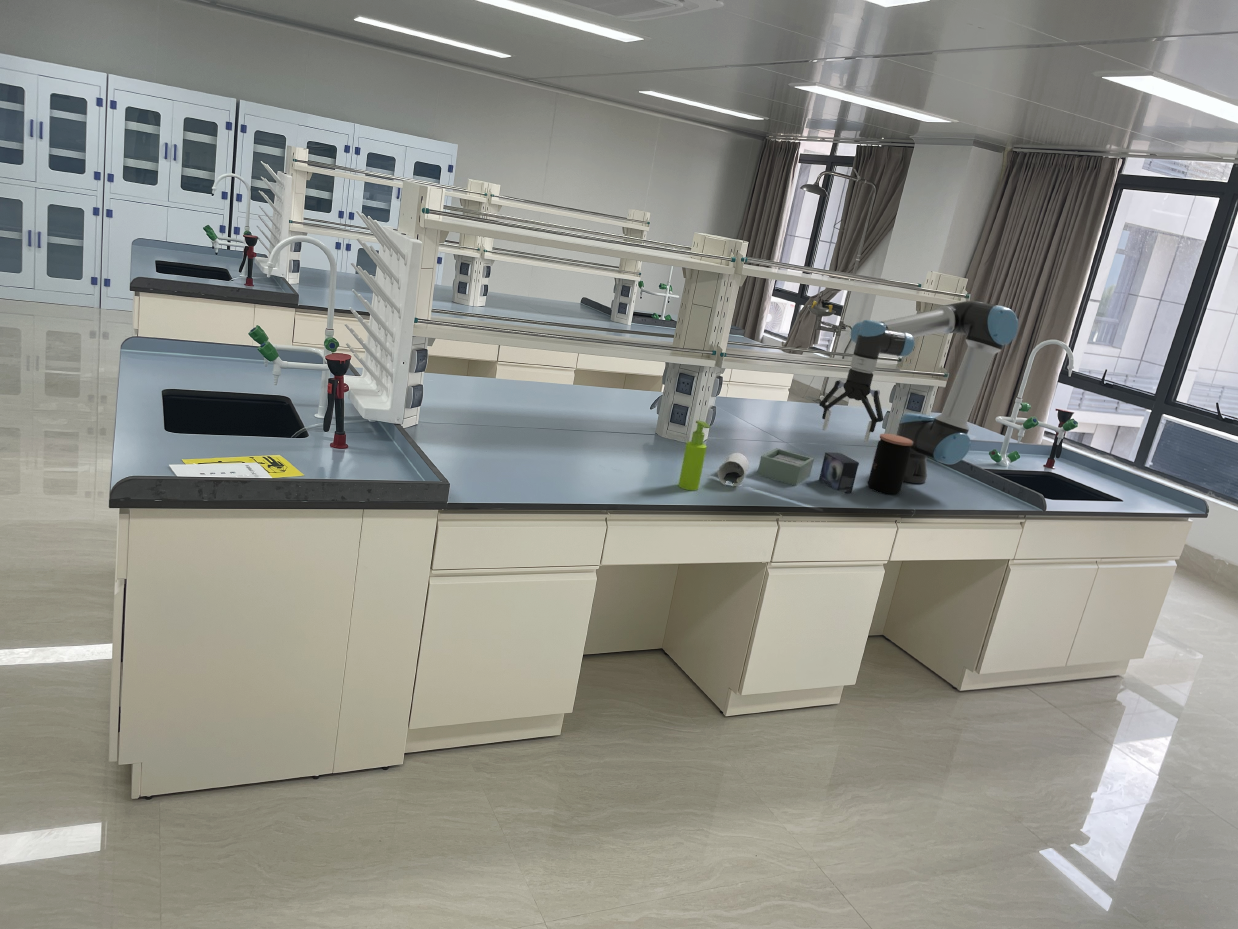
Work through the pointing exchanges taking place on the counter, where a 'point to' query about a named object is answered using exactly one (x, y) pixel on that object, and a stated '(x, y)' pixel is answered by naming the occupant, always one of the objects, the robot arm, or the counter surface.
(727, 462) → the white bottle
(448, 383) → the counter surface
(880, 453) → the coffee jar
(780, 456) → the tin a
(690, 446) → the soap dispenser
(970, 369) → the robot arm
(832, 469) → the small box
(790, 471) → the box
